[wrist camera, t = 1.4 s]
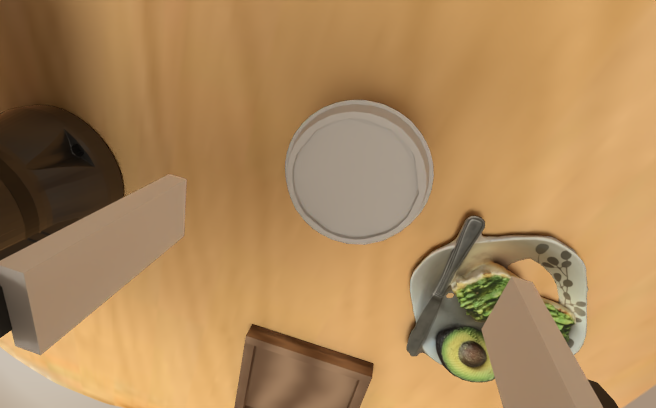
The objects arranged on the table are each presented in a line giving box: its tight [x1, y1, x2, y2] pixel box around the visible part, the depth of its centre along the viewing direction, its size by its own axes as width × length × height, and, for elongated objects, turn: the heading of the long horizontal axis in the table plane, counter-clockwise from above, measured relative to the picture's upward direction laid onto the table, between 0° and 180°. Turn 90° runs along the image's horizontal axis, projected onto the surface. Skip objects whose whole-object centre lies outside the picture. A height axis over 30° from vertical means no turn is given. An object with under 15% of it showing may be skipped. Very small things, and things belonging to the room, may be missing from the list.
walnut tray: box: [235, 324, 373, 408], centre depth 46 cm, size 16×16×2 cm
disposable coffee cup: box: [285, 100, 434, 245], centre depth 26 cm, size 10×10×12 cm
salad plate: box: [407, 216, 588, 382], centre depth 34 cm, size 19×18×5 cm
